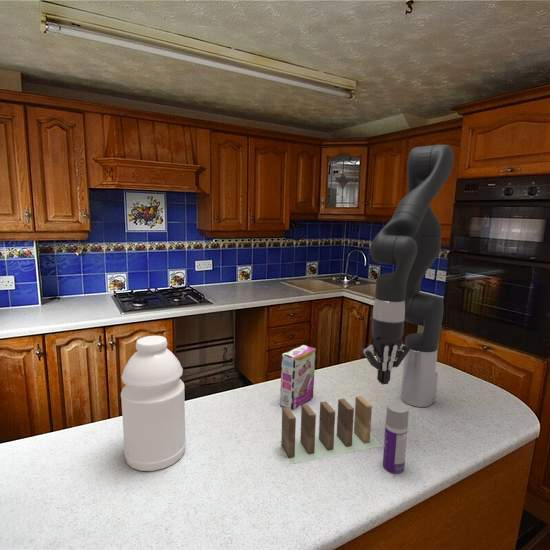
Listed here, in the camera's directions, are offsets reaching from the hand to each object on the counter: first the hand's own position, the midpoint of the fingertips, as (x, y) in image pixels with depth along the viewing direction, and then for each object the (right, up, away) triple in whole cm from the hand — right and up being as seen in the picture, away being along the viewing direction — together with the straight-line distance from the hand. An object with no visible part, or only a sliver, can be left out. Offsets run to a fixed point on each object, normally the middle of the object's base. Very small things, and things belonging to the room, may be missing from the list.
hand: (383, 382), depth 95 cm
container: (-1, -17, -10) cm, 20 cm away
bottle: (-56, -15, -6) cm, 58 cm away
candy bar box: (-21, -11, +19) cm, 30 cm away
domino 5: (-5, -14, +1) cm, 15 cm away
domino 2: (-20, -15, -4) cm, 25 cm away
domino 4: (-10, -14, -1) cm, 18 cm away
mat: (-14, -15, -2) cm, 20 cm away
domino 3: (-15, -14, -2) cm, 21 cm away
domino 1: (-24, -15, -5) cm, 29 cm away
